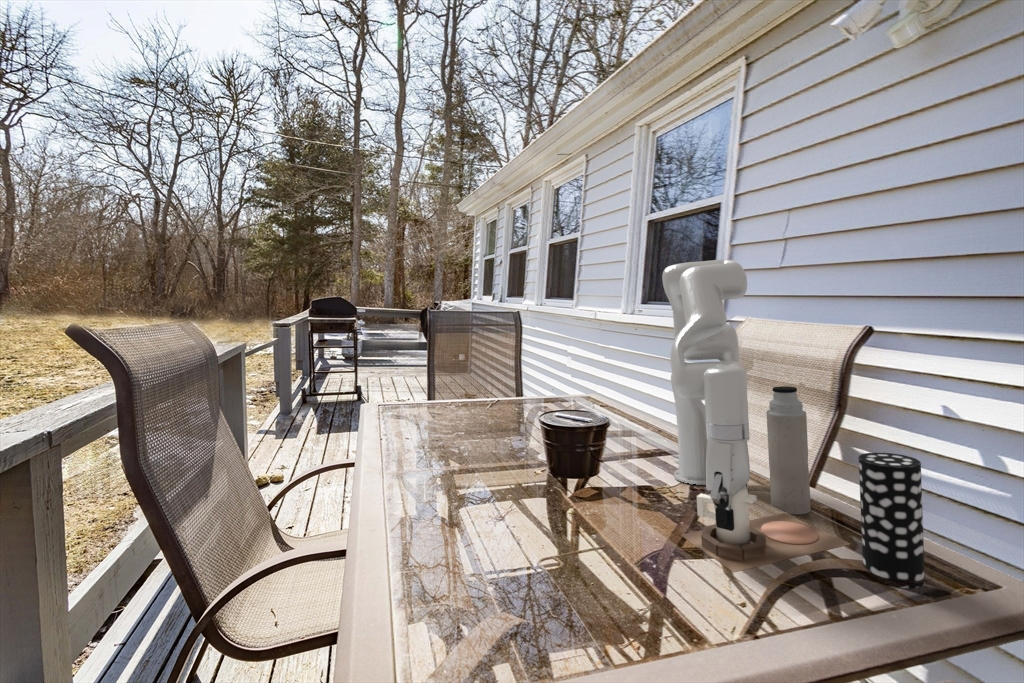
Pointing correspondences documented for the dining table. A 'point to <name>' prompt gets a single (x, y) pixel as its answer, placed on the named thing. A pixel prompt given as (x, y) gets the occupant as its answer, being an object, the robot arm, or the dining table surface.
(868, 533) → the white-spotted black cylinder
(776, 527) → the holder board
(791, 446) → the thermos bottle
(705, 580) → the dining table surface
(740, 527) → the white ceramic pitcher
